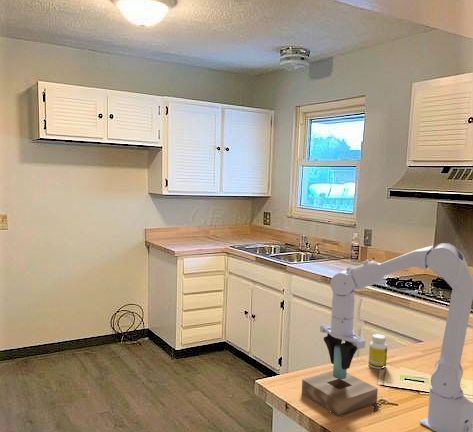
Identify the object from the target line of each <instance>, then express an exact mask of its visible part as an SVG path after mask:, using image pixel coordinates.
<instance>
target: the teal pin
mask: <svg viewBox="0 0 473 432" xmlns="http://www.w3.org/2000/svg"><path fill="white" fill-rule="evenodd" d="M332 365H333V366H332V367H333V368H332V369H333V370H332V371H333V377H335V378H337V379H345V378H346V374H347V373H348V372H347V370H348V369H345V370H344V369H342V356H341V350H340V347H339V345H335V346H334V364H332Z"/></svg>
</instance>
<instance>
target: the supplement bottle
mask: <svg viewBox="0 0 473 432" xmlns="http://www.w3.org/2000/svg"><path fill="white" fill-rule="evenodd" d="M371 337H372V341H370V342H369V350H368V366H369V367H370V368H371V369H375V370H376V369H377V370H382V369H381V368H382V367H383V366H386V367H387V358H388V357H387V356H388V355H387V354H388V344H387V343H386V335H383V334H380V333H376V334H372V336H371Z"/></svg>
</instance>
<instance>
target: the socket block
mask: <svg viewBox="0 0 473 432" xmlns="http://www.w3.org/2000/svg"><path fill="white" fill-rule="evenodd" d="M378 390H379V389H378V387H376V386H374V385H372V384H370V383H368V382H366V381H364V380H362V379H360V378H358V377H356V376H355V375H352V374H351V373H348V372H347V374H346V378H345V379H337V378H335V377H333V370H330V371H327V372H324V373H320V374H317V375H313V376H309V377H307V378H303V379H302V380H301V394H302V395H303V396H305V397H306V398H307V399H309V400H311V401H313V402H314V401H315V402H314V403H316V402H317V403H318V405H319V404H320V406H321V407H322V408H324V409H325V408H326V409H325V410H327V411H328V412H330V411H331V412H330V413H332V414H333V413H334V414H333V415H334V416H336V415H337V416H336V417H338V416H340V417H342V415H343V416H345V415H348V414H351V413H353V412H356V411H359V410H362V409H365V408H367V407H370V406H372V405H375V404H378V392H379V391H378ZM317 403H316V404H317Z"/></svg>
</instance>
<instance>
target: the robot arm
mask: <svg viewBox="0 0 473 432" xmlns="http://www.w3.org/2000/svg"><path fill="white" fill-rule="evenodd" d="M433 247H434V248H433ZM432 248H433V249H432ZM414 267H415V268H418V269H421V270H427V269H428V268H429V269H430V270H431V272H432V273H434V274H435V275H437V276H439V277H441V278H442V279H444V281H445V282H446V283H447V284H448V285H449V286H450V288H451V289H452V291H451V295H450V302H449V307H448V312H447V317H446V322H445V326H444V327H445V328H444V333H443V337H442V342H441V343H442V344H441V349H440V354H439V358H438V360H437V362H436V363H435V365H434V370H433V374H431V377H430V384H429V393H428V408H427V409H428V411H427V417H425V418H423V419H420V420H419V424H421V425H423V426H424V427H426V428H429V429H430V430H432V431H434V432H473V401H471V400H470V399H468V398H467V397H465V395H464V390H463V389H462V387H461V383H462V378H463V375H464V371H463V368H462V367H463V366H462V365H461V363H462V362H461V361H462V356H463V351H464V347H465V346H464V345H465V339H466V335H467V330H468V325H469V320H470V314H471V308H472V304H473V274H472V271H471V269H470V267H469V265H468V262H467V260H466V258H465V255H464V254H463V253H462V252H461V251H460V250H459V249H458V248H457V247H456V246H454V245H453V244H451V243H449V242H448V243H447V242H442V243H438V244H437V245H435V246H434V245H430V246H426V247H422V248H418V249H417V248H416V249H415V250H412V251H409V252H407V253H405V254H402V255H399V256H397V257H394V258H391V259H389V260H386V261H384V262H381V263H380V262H378V261H375V260H369V259H366V260H363V262H362V264H360V265H357V266H354V267H351V266H349V267H346V268H345V269H344V270H341V271H339V272H338V273H336V274H334V275H333V277H331V280H330V285H329V286H330V289H331V290H332V299H331V300H332V301H331V318H330V319H331V321H330V325H329V324H327V323H324V324H319V332H320V333H325V334H327V335H326V336H324V337H323V341H324V343H325V345H326V347H327V350H328V354H329V359H330V360H329V361H330V363H331V364H332V365H334V346H335V345H339V347H340V350H341V356H342V369H344V370H345V369H347V370H348V369H350V367H351V363H352V360H353V358H354V356H355V354H356V352H357V350H358V349H359V350H361V349H364V348H365V347H366V340H365V339H363V338H362V337H360V336H359V335H357V334H355V330H354V318H355V317H354V316H355V290H362V289H365V288H367V287H370V286H373V285H376V284H380V283H382V282H383V280H384V278H385V276H387V275H390V274H394V273H398V272H401V271H405V270H407V269H410V268H414ZM343 341H344V342H343ZM342 342H343V343H342ZM365 349H366V348H365Z"/></svg>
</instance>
